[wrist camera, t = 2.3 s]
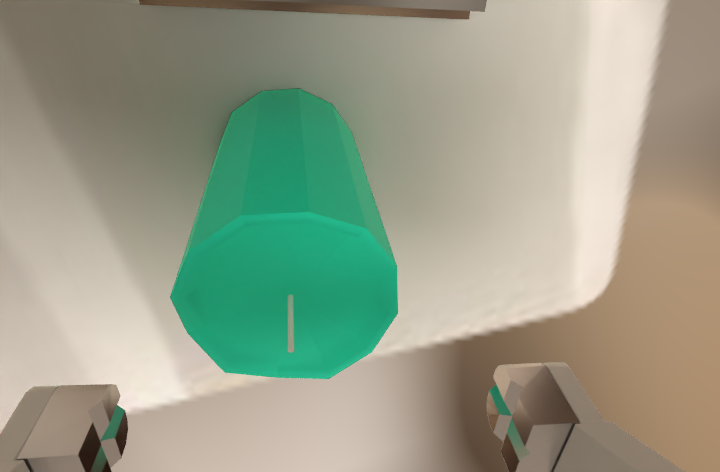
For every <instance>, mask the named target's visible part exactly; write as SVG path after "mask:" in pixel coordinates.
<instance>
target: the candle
mask: <svg viewBox="0 0 720 472" xmlns="http://www.w3.org/2000/svg"><path fill="white" fill-rule="evenodd" d="M170 298H171V300H172V302H173V304H174V306H175V308H176V311H177V313H178V315H179V317H180V319H181V321H182V323H183V325H184V327H185V329H186V331H187V333H188V334H189V335H190V336H191V337H192V338H193V339H194V341H195V342H196V343H197V344H198V345H199V346H200V347H201V348H202V349H203V350H204V351H205V352H206V353H207V354H208V355H209V356H210V357H211V358H212V359H213V361H214V362H215V363H216V364H217V365H218V366H219V367H220V368H221V369H222V370H223V371H224V372H226V373H236V374H246V375H256V376H267V377H278V378H315V379H317V378H318V379H329V378H331V377H332V376H334V375H336V374H337V373H339V372H340V371H342V370H344V369H345V368H347V367H349V366H350V365H352V364H353V363H355V362H357V361H358V360H360V359H361V358H363V357H365V356H366V355H368V354H370V353H371V352H372V351H373V350H374V348H375V347H376V345H377V344H378V342H379V341H380V339H381V338H382V336H383V335H384V333H385V332H386V330H387V329H388V327H389V326H390V324H391V323H392V321H393V320H394V318H395V317H396V315H397V314H398V298H397V265H396V262H395V259H394V256H393V253H392V250H391V247H390V244H389V241H388V238H387V235H386V232H385V229H384V226H383V224H382V221H381V218H380V215H379V212H378V209H377V206H376V203H375V200H374V197H373V194H372V191H371V188H370V185H369V182H368V179H367V176H366V174H365V171H364V168H363V165H362V162H361V159H360V156H359V153H358V150H357V147H356V144H355V141H354V138H353V135H352V132H351V131H350V130H349V128H348V127H347V125H346V124H345V122H344V121H343V119H342V118H341V116H340V115H339V114H338V112H337V111H336V109H335V108H334V106H333V105H332V104H331V103H329V102H326V101H324V100H322V99H320V98H318V97H316V96H314V95H312V94H310V93H307V92H305V91H303V90H301V89H299V88H297V89H284V90H271V91H261V92H260V93H258V94H257V95H255V96H254V97H253V98H251V99H250V100H248V101H247V102H246V103H244V104H243V105H242V106H240V107H239V108H237V109H236V110H235V111H233V112H232V114H231V116H230V119H229V121H228V124H227V127H226V129H225V132H224V134H223V137H222V140H221V142H220V145H219V148H218V151H217V154H216V157H215V160H214V163H213V167H212V170H211V173H210V176H209V179H208V182H207V185H206V188H205V191H204V194H203V197H202V200H201V203H200V207H199V210H198V213H197V216H196V219H195V222H194V225H193V228H192V231H191V234H190V237H189V240H188V244H187V247H186V250H185V253H184V256H183V259H182V262H181V265H180V268H179V271H178V274H177V277H176V281H175V284H174V287H173V290H172V293H171V296H170Z"/></svg>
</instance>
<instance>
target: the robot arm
mask: <svg viewBox="0 0 720 472" xmlns="http://www.w3.org/2000/svg"><path fill="white" fill-rule="evenodd" d="M493 378H494V380H495V382H496V384H497V385H496V386H494V387H493V388H492V389H491V390H490V391H489V394H488V398H487V414H488V419H489V423H490V425H491V428H492V431H493V433H494V434H495V435H496V436H497V437H499V438H500V439H501V440H502V441H503V442H504V443H503V446H502V449H501V453H502V456H503V458H504V460H505V463H506V465H507V468H508V470H509V472H685V471H683V470H682V469H680V468H679V467H677V466H676V465H674V464H673V463H671V462H670V461H669V460H667V459H665V458H664V457H663V456H661V455H660V454H658V453H657V452H655V451H654V450H652V449H651V448H649V447H648V446H646V445H645V444H643V443H642V442H640V441H639V440H638V439H636V438H635V437H633V436H632V435H630V434H629V433H627V432H626V431H624V430H623V429H621V428H620V427H619V426H617V425H616V424H614V423H613V422H605V421H604V420H603V418H602V416H601V415H600V413H599V412H598V410H597V409H596V407H595V406H594V404H593V403H592V401H591V400H590V398H589V396H588V395H587V393H586V392H585V390H584V389H583V387H582V386H581V384H580V383H579V381H578V380H577V378H576V377H575V375H574V374H573V372H572V370H571V369H570V367H569V366H568V365H567V364H565V363H564V362H553V363H529V364H512V365H499V366H498V367H497V368H496V370H495V373H494V376H493ZM119 398H120V394H119V391H118V388H117V386H116V385H112V384H105V385H61V386H37V387H33V388H31V389H30V390H29V391H28V392H26V393H25V395H24V396H23V398H22V400H21V401H20V403H19V404H18V406H17V408H16V409H15V411H14V412H13V414H12V416H11V417H10V419H9V421H8V422H7V424H6V425H5V427H4V429H3V430H2V432H1V434H0V472H111V469H110V468H111V467H112V466H113V465H114V464H115V463H116V462H117V461H118V460H119V459H121V458H122V454H123V451H124V448H125V445H126V440H127V433H128V424H127V423H128V422H127V416H126V413H125V410H123V409H122V408H121V407H119V406H118V405H117V403H118V401H119Z"/></svg>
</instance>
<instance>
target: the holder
mask: <svg viewBox="0 0 720 472" xmlns="http://www.w3.org/2000/svg"><path fill="white" fill-rule="evenodd" d="M486 1H487V0H139V2H140V5H162V6H184V7H206V8H228V9H250V10H273V11H295V12H317V13H339V14H361V15H383V16H405V17H427V18H449V19H469V14H470V11H481V12H485V6H486Z"/></svg>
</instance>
